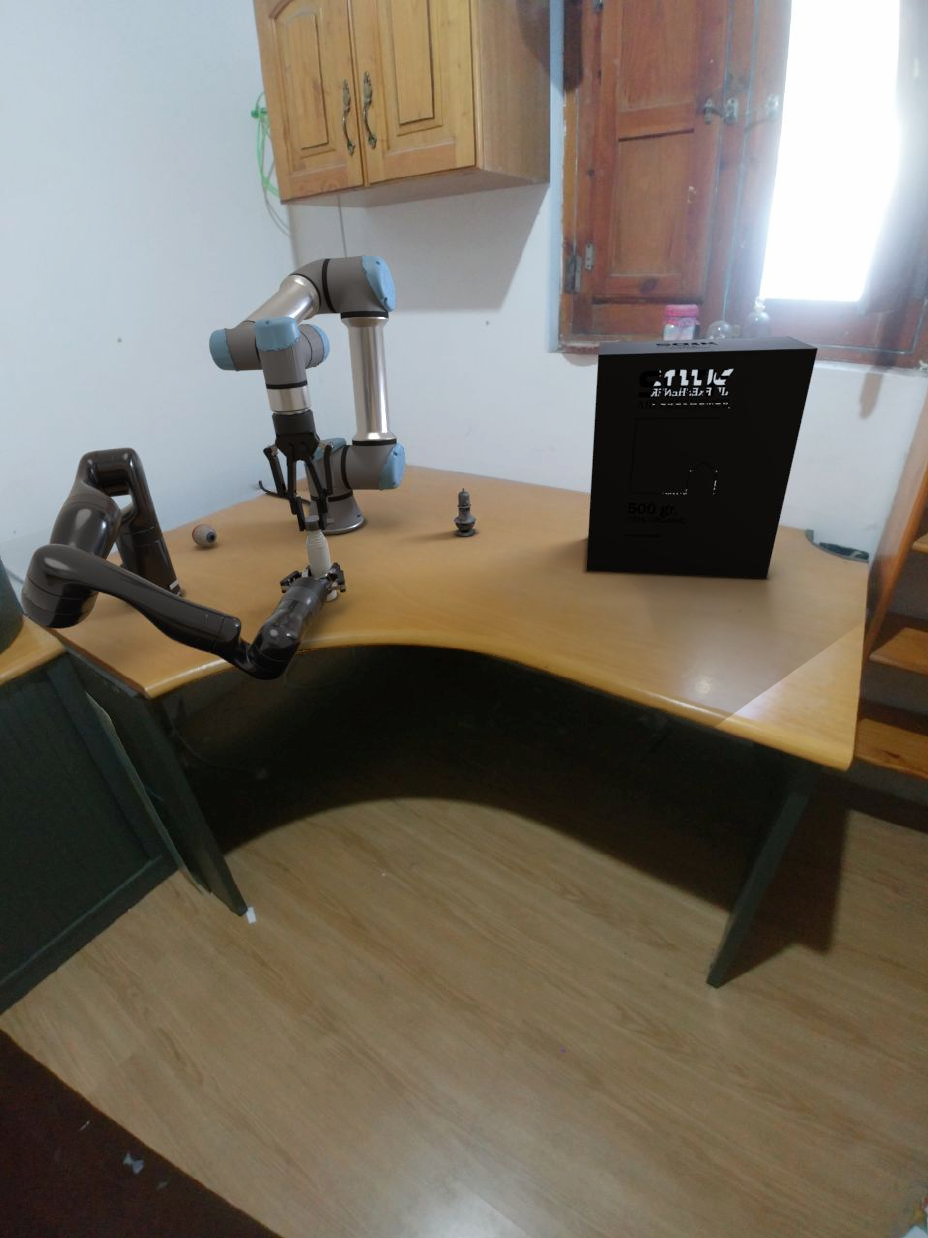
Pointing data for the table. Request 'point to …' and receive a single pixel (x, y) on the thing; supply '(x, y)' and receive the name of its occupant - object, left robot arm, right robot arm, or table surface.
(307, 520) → the cap
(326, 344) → the right robot arm
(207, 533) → the eyeball
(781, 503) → the cardboard box
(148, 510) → the left robot arm
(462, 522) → the salt shaker
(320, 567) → the bottle
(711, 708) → the table surface
